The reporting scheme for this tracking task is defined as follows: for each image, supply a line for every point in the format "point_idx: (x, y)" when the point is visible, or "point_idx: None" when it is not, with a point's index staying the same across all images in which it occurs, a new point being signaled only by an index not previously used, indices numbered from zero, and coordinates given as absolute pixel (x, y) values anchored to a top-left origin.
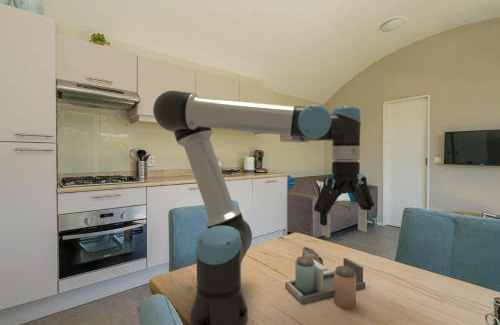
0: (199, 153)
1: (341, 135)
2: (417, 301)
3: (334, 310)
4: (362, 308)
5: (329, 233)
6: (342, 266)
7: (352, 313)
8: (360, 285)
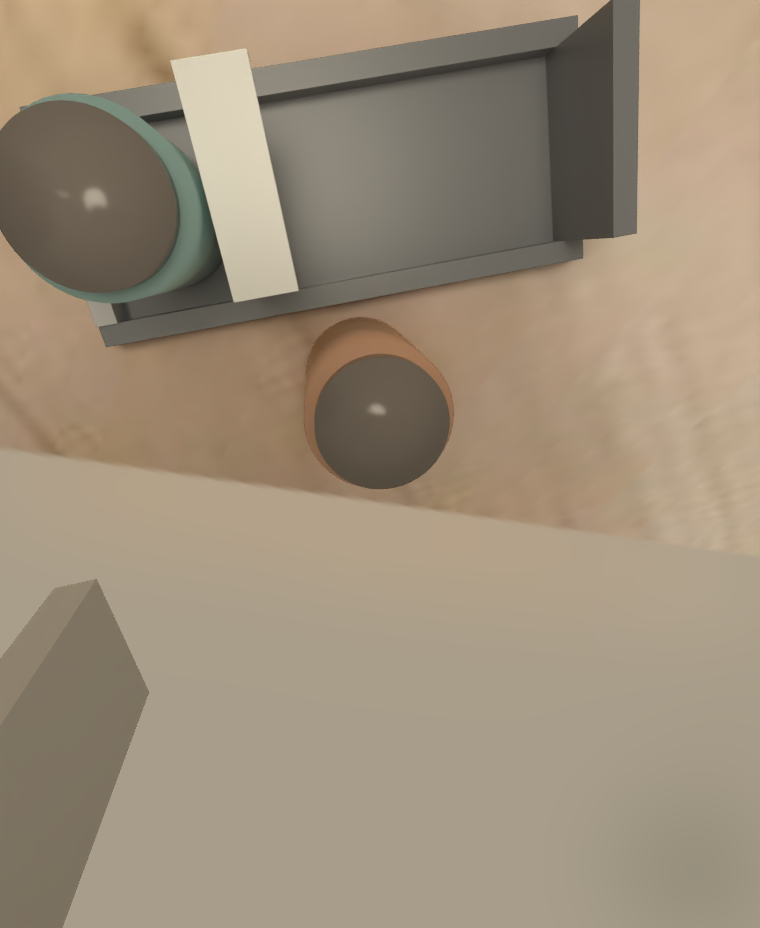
0: None
1: None
2: (707, 423)
3: (277, 418)
4: None
5: (118, 743)
6: (397, 368)
7: None
8: (540, 265)
